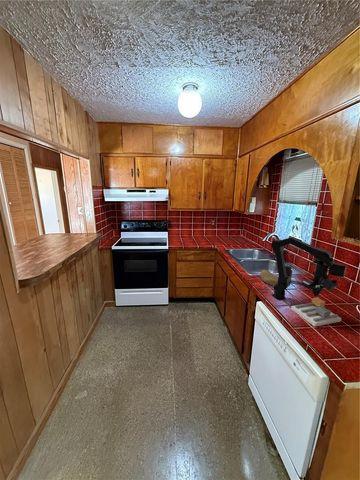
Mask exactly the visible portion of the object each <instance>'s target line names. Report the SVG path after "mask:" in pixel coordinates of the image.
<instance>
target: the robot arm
mask: <svg viewBox="0 0 360 480" xmlns="http://www.w3.org/2000/svg"><path fill="white" fill-rule="evenodd" d="M288 245H291V246H293V247H296V248H297V249H300V250H302V251H303V252H306V253H308V254H310V255H312V257H313V258H314V260H312V264H315V269H314V271H312V275H313V277H311V279H310V280H309V279H306V280H301V286H303V287H305V288H306V289H309V290H311V291H312V293H313V295H314V298H318V296H319V294H320V293H321V292H322V290H327V291H331V290H333V291H334V289H336V288H338V286H339V285H338V284H339V281H338V280H337V279H332V278H330V277H329V275H331V276H335V277H339V278H342V279H344V277H345V275H346V272H347V265H346V264H340V263H336V262H335V260H334V258H333V257H332V256H333V255H332V252H331V251H330V250H329V249H325V248H322V247H321V248H320V247H316V246H313V245H311V244H310V243H307V242H304V241H302V240H299V239H298V238H296V237H294V236H290V237H287V238H284V239H281V238H278V239H275V240H273V241H271V243H270V246H271V250H272V251H273V254H274V255H275V260H276V261H275V262H276V266H277V273H278V277H277V278H278V283H277V284H276V285H275V286H273V294H271V297H273V298H274V299H276V300H277V301H283V300H287V297H286V290H287V288H289V287H290V286H291V283H292V278H291V277H288V276H287V274H286V268H285V265H286V264H285V257H284V250H285V246H288ZM328 273H329V274H328Z"/></svg>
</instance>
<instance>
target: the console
mask: <svg viewBox="0 0 360 480" xmlns="http://www.w3.org/2000/svg"><path fill="white" fill-rule="evenodd" d="M323 307H324V308H326V307H325V306H323ZM290 308H291V310H292V311H293V312H294V313H296V314H297V315H298V314H299V315H298V316H299V317H301V318H302V319H304V320H305V321H306V322H308V323H309V324H310V325H312V326H313V327H314V328H315V327H319V326H325V325H330V324H335V323H340V322H342V317H340V316H339V314H336V313H333V312H332V311H331V309H328V310H329V311H331V312H330V316H327V317H321V316H320V315H319V314H318V313H317V312H316V306H315V304H313V303H312V302H306V303H302V304H301V303H300V304H294V305H291V307H290Z"/></svg>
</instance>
